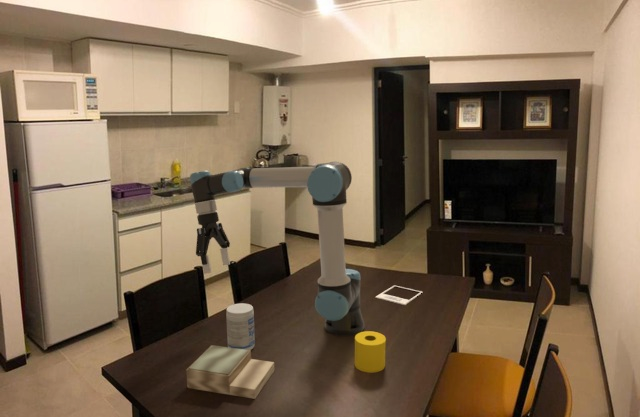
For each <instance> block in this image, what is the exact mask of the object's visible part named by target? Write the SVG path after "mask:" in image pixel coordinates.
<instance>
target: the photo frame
mask: <svg viewBox="0 0 640 417" xmlns="http://www.w3.org/2000/svg"><path fill="white" fill-rule="evenodd" d="M395 287H396V288H401V289H404V290H408V291H413V292H417V294H416V295H415V296H413V297H412V298H410V299H407V298H402V297H399V296H394V295H390V294H386V293H387V292H389V291H391V290H392V289H394V288H395ZM421 293H422V294H423V291H422V290H415V289H413V288H408V287H404V286H398V285H392V286H391V287H389V288H387V289H386V290H384V291H383V292H381V293H379V294H378V295H376V296H375V299H379V300H382V301H386V302H391V303H394V304H398V305H402V306H407V304H409V303H411V302H412V301H413V300H415V299H416V298H417V296H418V297H419V296H420V295H422V294H421Z"/></svg>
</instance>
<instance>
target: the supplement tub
mask: <svg viewBox="0 0 640 417" xmlns="http://www.w3.org/2000/svg"><path fill="white" fill-rule="evenodd" d="M225 314H226V317H225V318H226V334H227V339H226V340H227V347H229V348H237V349H244V350H251V351H252V349H254V347H255V346H256V345H255V344H256V343H255V342H256V341H255V338H256V337H255V317H254V316H255V314H254V307H253V306H252V304H249V303H243V302H241V303H235V304H231V305H229V306H228V307H227V308H226V312H225Z"/></svg>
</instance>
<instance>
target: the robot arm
mask: <svg viewBox="0 0 640 417" xmlns="http://www.w3.org/2000/svg"><path fill="white" fill-rule="evenodd" d="M189 179H190V187H191V190H192V196H193V201H194V206H195V211H196V212H195V213H196V216H197V217H196V218H197V221H198V222H197V223H198V225H199V226H201V227H199V228H197V229H196V233H197V235H196V236H197V237H196V247H195V255H196V256H197V257H200V260H201V265H202V270H203V274H212V267H211V262H210V261H211V260H210V257H209V254H208V249H209V246H210V242H211V240H212V238H213V239H214V240H215V241H216V243H217V244H218V245H219V247H220V249H219V250H220V255H221V257H220V258H221V262H222V266H229V265H231V260H230V256H229V251H228V248H230V246H231V243H230V241H229V238H228V236H227V234H226V232H225V230H224V228H223V227H224V226H223V224H222V223H221V222H220V223H219V221H220V219H219V214H218V212H217V211H218V208H217V203H216V198H215V196H217V195H223V194H230V193H231V194H233V193H235V192H239V191H241V190H242V189H254V188H255V189H256V188H257V189H258V188H259V189H261V188H262V189H263V188H265V189H266V188H269V189H270V188H307V191H308V193H309V196H311V200H312V206H313V207H314V208H315V209H316V210H317V222H318V240H319V241H318V242H319V243H318V244H319V254H320V255H319V256H320V270H321V271H320V273H321V275H320V277H319V278H317V295H316V297H315V300H314V307H315V311H316V312H317V314H318V315H320V317H322V318H323V319H325V321H324V328H325V330H326V331H327V332H328V333H330V334H333V335H336V336H342V337H349V336H350V337H351V336H356V335H357V334H358V333H360V332H364V329H365V321H364V318H363V315H362V311H361V273H360V272H359V271H358V270H356V269H352V268H346V249H345V232H344V212H343V211H344V209H343V208H344V206H346V205H347V200H348V199H347V190H348V189H349V188H350V186H351V183H352V172H351V170H350V168H349V166H347V165H346V164H345V163H343V162H340V161H330V162H326V163H324V162H323V163H316V164H315V165H314V166H291V167H261V168H260V167H259V168H258V167H257V168H255V167H253V168H250V167H240V168H238V169H233V170H229V171H226V172H221V173H216V174H211V172H210V171H209V170H203V171H202V170H201V171H197V172H193V173H190V175H189Z"/></svg>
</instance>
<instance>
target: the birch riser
mask: <svg viewBox="0 0 640 417" xmlns="http://www.w3.org/2000/svg"><path fill="white" fill-rule="evenodd" d="M185 370H186V384H187V388H188V389H193V390H199V391H205V392H211V393H217V394H223V395H229V396H237V397H242V398H246V399H254V400H256V398H257V397H258V395H259V394H260V392H261V391H262V390H263V388H264V387H265V385H267V383H268V380H269V379H270V378H271V377H272V375H273V374H274V372H275V362H274V361H268V360H260V359H253V358H252V349H251V350H244V349H237V348H229V347H228V346H222V345H214V344H213V345H212V344H211V345H210V346H209V347H208V348H206V350H205V351H204V352H203V353H202V354H201V355H200V356H199V357H198V358H197V359H196V360H194V361H193V363H192V364H191V365H189V366H188V367H187V369H185Z"/></svg>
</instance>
